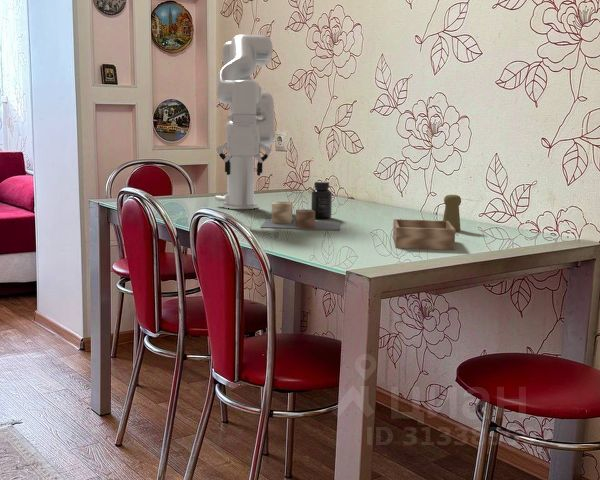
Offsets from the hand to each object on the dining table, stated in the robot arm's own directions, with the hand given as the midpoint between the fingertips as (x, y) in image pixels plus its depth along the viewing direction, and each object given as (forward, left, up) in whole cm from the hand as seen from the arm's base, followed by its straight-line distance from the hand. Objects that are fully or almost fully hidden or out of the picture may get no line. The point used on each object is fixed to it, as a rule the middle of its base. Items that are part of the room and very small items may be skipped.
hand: (243, 174), depth 246 cm
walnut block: (+20, -8, -15) cm, 26 cm away
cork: (+65, -3, -15) cm, 67 cm away
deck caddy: (+54, -29, -15) cm, 64 cm away
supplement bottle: (+24, +14, -15) cm, 32 cm away
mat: (+19, -3, -15) cm, 24 cm away
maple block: (+12, +1, -15) cm, 19 cm away
